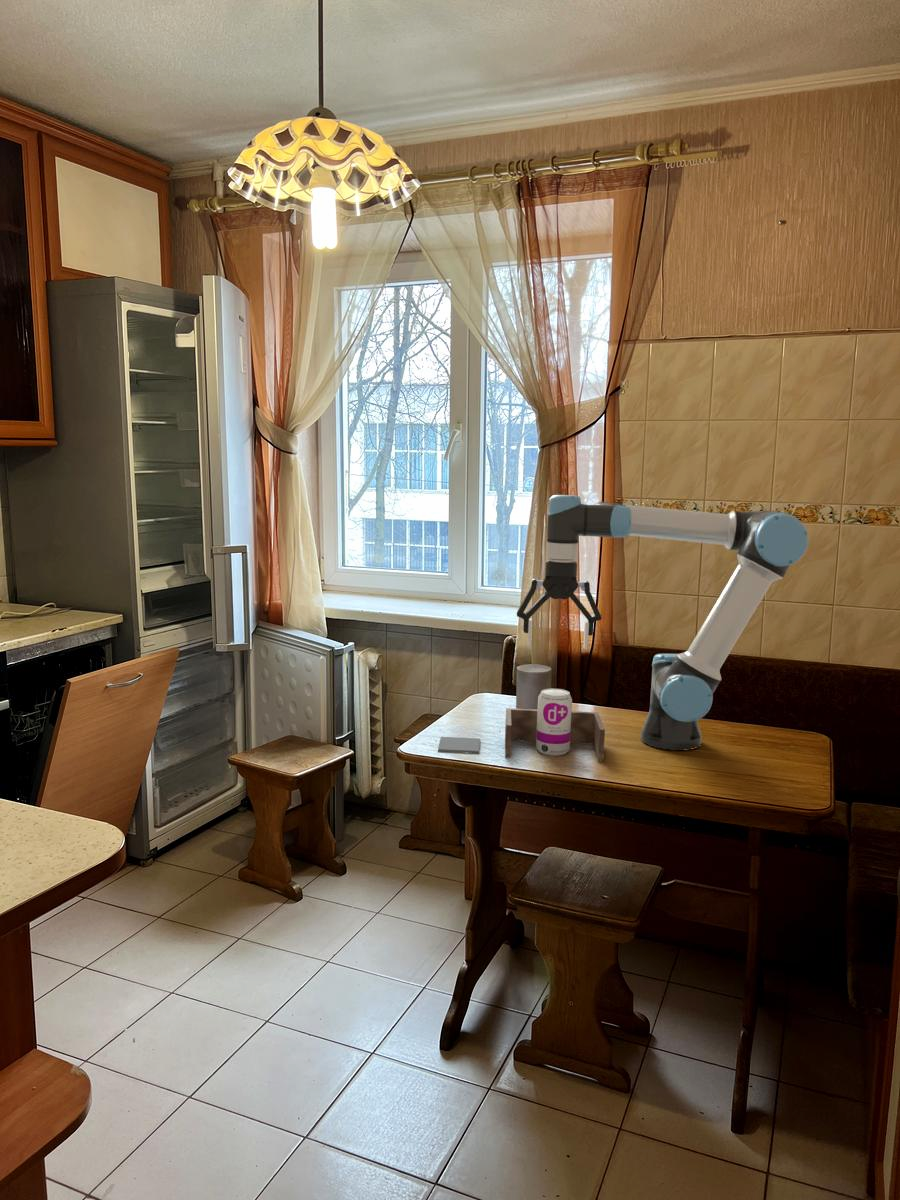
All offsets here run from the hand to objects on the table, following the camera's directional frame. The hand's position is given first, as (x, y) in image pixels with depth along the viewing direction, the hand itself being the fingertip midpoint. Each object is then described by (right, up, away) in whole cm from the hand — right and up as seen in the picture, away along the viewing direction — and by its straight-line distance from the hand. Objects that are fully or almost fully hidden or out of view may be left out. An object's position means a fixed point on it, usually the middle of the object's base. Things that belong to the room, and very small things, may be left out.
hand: (557, 647), depth 217 cm
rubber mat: (-24, -25, +6) cm, 35 cm away
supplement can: (-1, -26, +4) cm, 26 cm away
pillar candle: (-3, -21, +35) cm, 41 cm away
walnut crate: (-1, -26, +5) cm, 26 cm away
